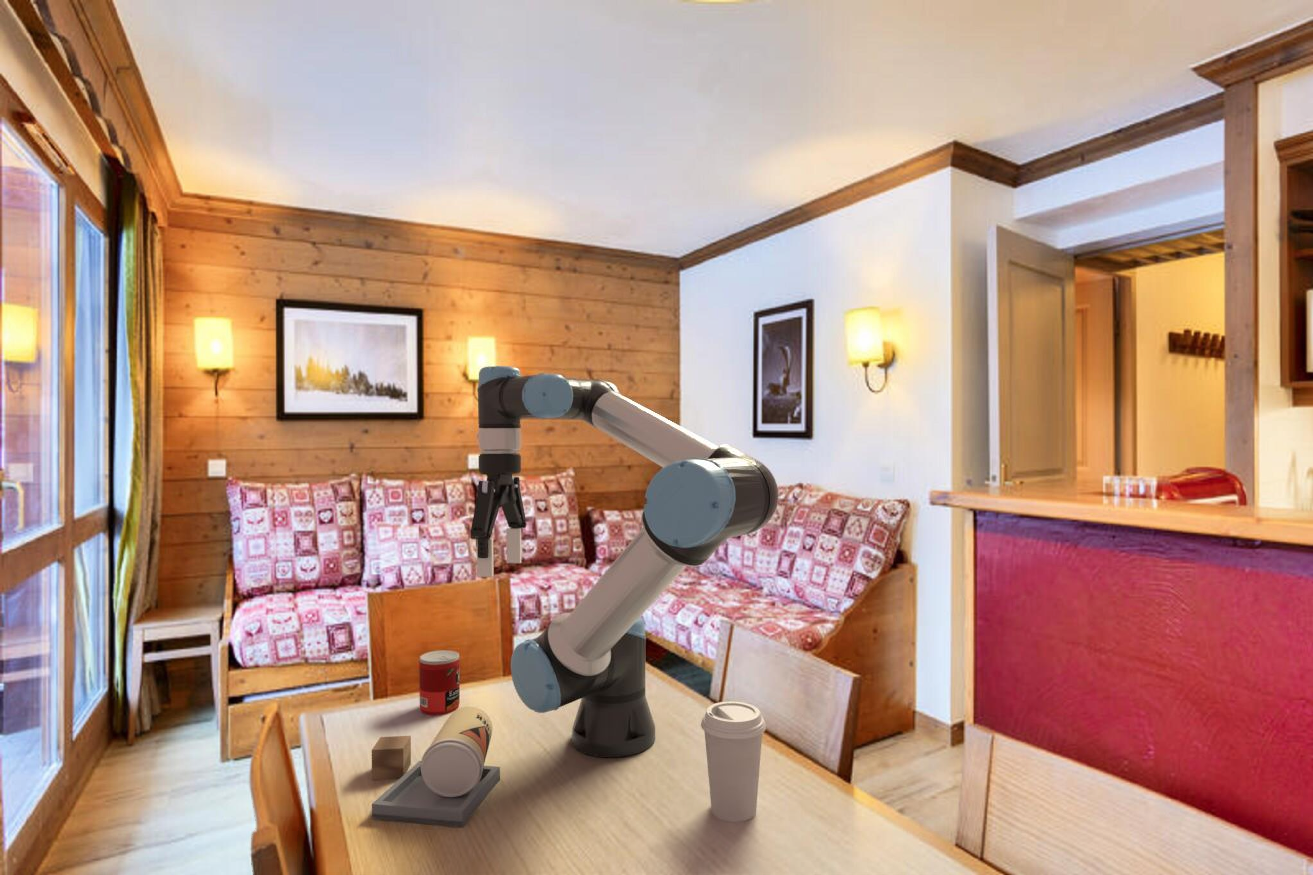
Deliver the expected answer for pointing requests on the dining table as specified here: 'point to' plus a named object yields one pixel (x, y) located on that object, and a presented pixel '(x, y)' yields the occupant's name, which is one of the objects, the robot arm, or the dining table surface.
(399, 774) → the walnut cube
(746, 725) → the coffee cup
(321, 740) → the dining table surface
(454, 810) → the tray
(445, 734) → the coffee cup
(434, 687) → the canned food
